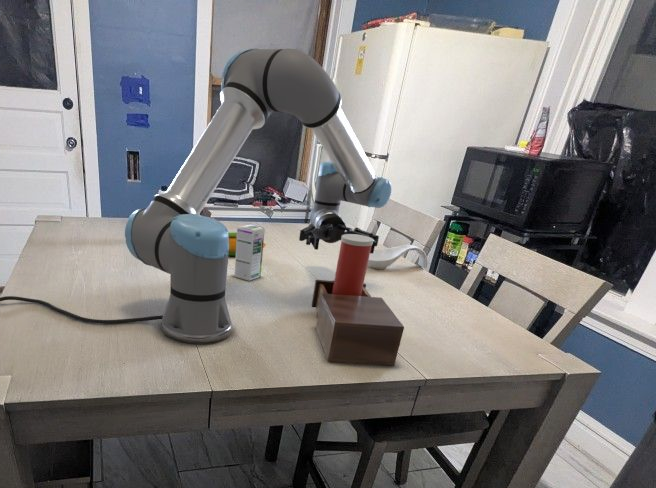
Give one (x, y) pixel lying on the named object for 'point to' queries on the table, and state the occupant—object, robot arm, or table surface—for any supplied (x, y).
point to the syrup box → (249, 252)
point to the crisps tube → (352, 264)
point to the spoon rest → (394, 256)
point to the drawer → (328, 291)
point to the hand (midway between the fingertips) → (345, 245)
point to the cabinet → (358, 330)
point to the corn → (234, 244)
